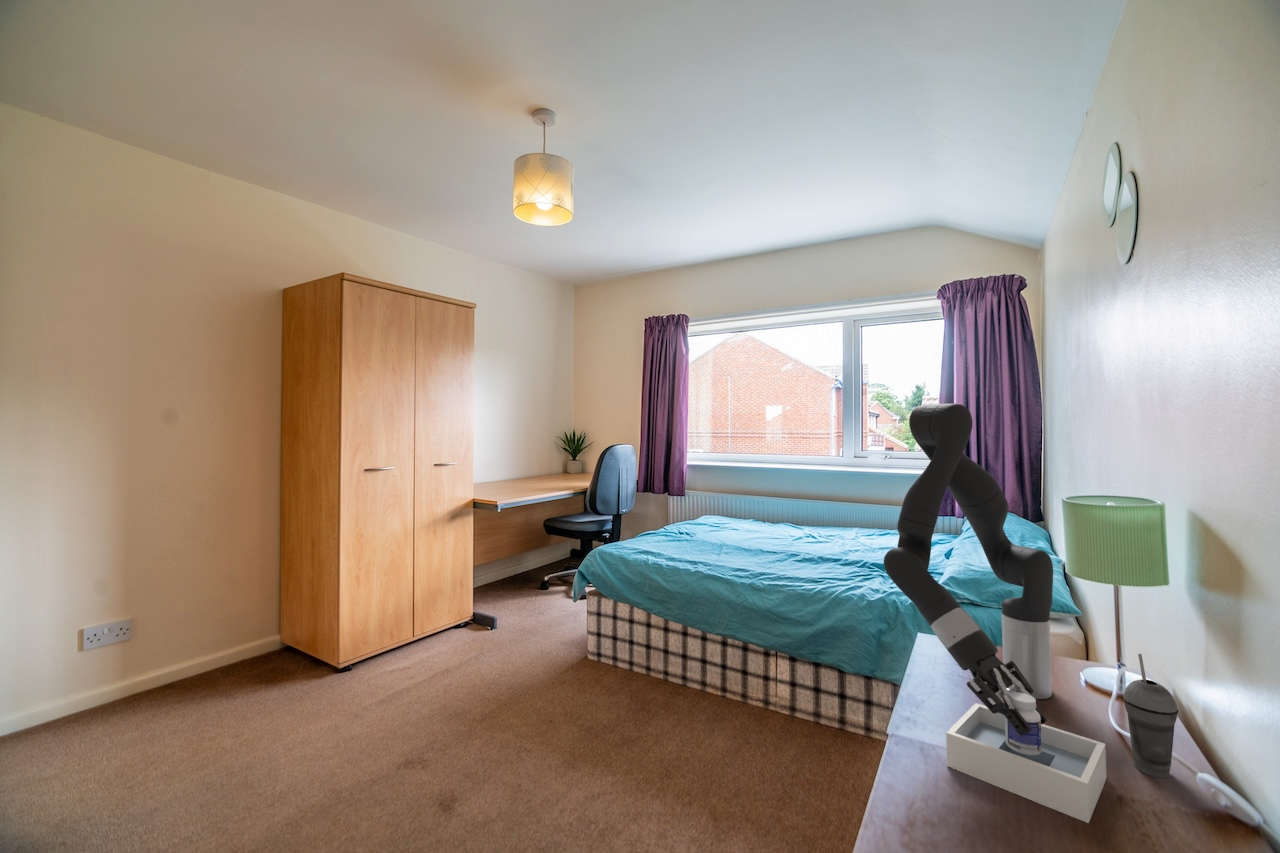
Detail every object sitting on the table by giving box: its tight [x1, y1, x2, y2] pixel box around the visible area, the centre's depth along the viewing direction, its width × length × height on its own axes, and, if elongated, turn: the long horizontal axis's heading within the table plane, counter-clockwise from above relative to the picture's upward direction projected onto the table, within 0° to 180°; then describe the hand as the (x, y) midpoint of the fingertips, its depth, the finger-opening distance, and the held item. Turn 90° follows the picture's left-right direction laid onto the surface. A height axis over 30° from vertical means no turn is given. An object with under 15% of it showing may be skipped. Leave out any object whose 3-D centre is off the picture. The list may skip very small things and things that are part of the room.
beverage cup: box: [1122, 653, 1179, 779], centre depth 97 cm, size 7×7×20 cm
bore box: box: [945, 702, 1107, 824], centre depth 97 cm, size 16×20×6 cm
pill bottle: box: [1005, 692, 1041, 755], centre depth 97 cm, size 5×5×9 cm
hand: (1034, 728), depth 96 cm, fingers closed on pill bottle, 5 cm apart
